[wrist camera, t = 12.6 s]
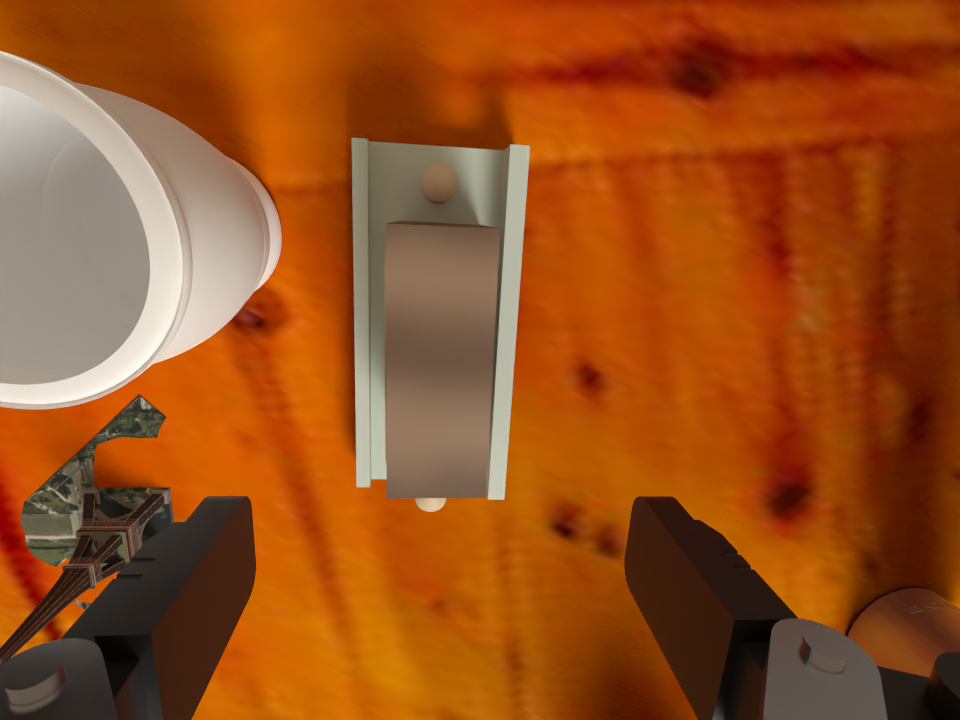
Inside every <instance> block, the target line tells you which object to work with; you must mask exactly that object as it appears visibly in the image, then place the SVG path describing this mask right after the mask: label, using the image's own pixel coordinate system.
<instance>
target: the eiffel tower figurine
mask: <svg viewBox="0 0 960 720" xmlns="http://www.w3.org/2000/svg"><path fill="white" fill-rule="evenodd" d="M165 418H166V416H165V415H163V414H162V413H161V412H159V411H158V410H157V409H156V408H154V407H153V406H152V405H150V404H149V403H148V402H147V401H145V400H144V399H143V398H141V397H140V396H138V397H137V398H136V399H135V400H134V401H133V402H132V403H131V404H130V405H129V406H128V407H127V408H125V409H124V410H123V411H122V412H121V413H120V414H119V415H118V416H117V417H116V418H115V419H114V420H112V421H111V422H110V423H109V424H108V425H107V426H106V427H105V428H104V429H103V430H102V431H100V432H99V433H98V434H97V435H96V436H95V437H94V438H93V439H92V440H91V441H90V442H89V443H88V444H86V445H85V446H84V447H83V448H82V449H81V450H80V451H79V452H78V453H77V454H76V455H75V456H74V457H73V458H72V459H71V460H69V461H68V462H67V463H66V464H65V465H64V466H63V467H62V468H61V469H60V470H59V471H58V472H57V473H56V474H54V475H53V476H52V477H51V478H50V479H49V480H48V481H47V482H46V483H45V484H44V485H43V486H42V487H40V488H39V489H38V490H37V491H36V492H35V493H34V494H33V495H32V496H31V497H30V498H29V499H27V500H26V501H25V502H24V506H23V512H22V514H21V516H20V518H21V523H22V526H23V529H24V532H25V538H26V545H27V547H28V548H29V550H30V551H31V552H32V554H33V555H34V556H35V557H36V558H38V559H40V560H42V561H44V562H46V563H48V564H49V565H52V566H56V567H57V566H58V565H60V564H61V563H62V562H63V561H65V560H67V559H69V558H71V559H70V561H69V563H68V565H65V566H63V567H62V568H63V573H62V575H61V576H60V578H59V579H58V581H57V582H56V583H55V585H54V586H53V587H52V588H51V590H50V591H49V592H48V594H47V595H46V596H45V597H44V599H43V600H42V601H41V602H40V603H39V604H38V606H37V607H36V608H35V609H34V610H33V611H32V613H31V614H30V615H29V616H28V617H27V618H26V620H25V621H24V622H23V623H22V624H21V625H20V627H19V628H18V629H17V630H16V631H15V632H14V633H13V635H12V636H11V637H10V638H9V639H8V640H7V641H6V643H5V644H4V645H3V646H2V647H1V648H0V664H2V663H3V662H5V661H6V660H8V659H10V658H11V657H12V656H13V655H14V654H15V653H16V652H17V651H18V650H19V649H20V648H21V647H22V646H24V645H25V644H26V643H27V642H28V641H29V640H30V639H31V638H32V637H33V636H34V635H35V634H36V633H38V632H39V631H40V630H41V629H42V628H43V627H44V626H45V625H46V624H47V623H48V622H50V621H51V620H52V619H53V618H54V617H55V616H56V615H57V614H58V613H59V612H60V611H62V610H63V609H64V608H65V607H66V606H67V605H69V604H70V603H71V602H72V601H73V600H75V599H76V598H77V597H78V596H79V595H81V594H82V593H83V592H85V591H86V590H88V589H94V588H95V587H96V583H98V582H100V581H102V580H104V579H105V578H107V577H109V576H111V575H113V574H115V573H116V572H119V571H121V570H122V568H123V567H124V566H125V565H126V564H127V563H128V562H131V558H132V557H133V556H134V555H135V554H136V552H137V551H138V550H139V549H140V548H141V547H142V546H143V544H144V543H145V542H146V541H147V540H148V539H149V538H151V537H152V536H154V535H155V534H157V533H158V532H160V531H162V530H163V529H165V528H166V527H168V526H169V525H171V524H173V523H174V520H173V511H172V502H171V493H170V488H96V485H95V482H94V467H93V463H94V451H95V449H96V446H97V444H99V443H103V442H106V441H109V440H112V439H115V438H118V437H134V438H157V436H158V431H159V429H160V427H161V425H162V423H163V422H164V420H165ZM77 601H78V599H77V600H75V601H74V602H75V603H77V604H78V605H79V606H81V607H82V608H84V609H85V610H86V609H87V608H88V607H89V606H90V605H91V604H92V603H84V602H77Z"/></svg>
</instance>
